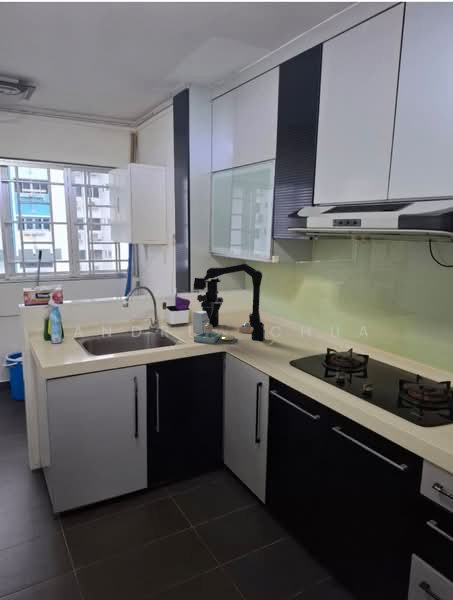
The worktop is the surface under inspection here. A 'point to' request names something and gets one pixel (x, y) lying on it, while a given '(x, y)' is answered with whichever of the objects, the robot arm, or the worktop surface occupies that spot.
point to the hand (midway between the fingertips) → (212, 316)
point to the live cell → (208, 330)
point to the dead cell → (247, 325)
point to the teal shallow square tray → (203, 339)
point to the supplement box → (199, 321)
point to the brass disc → (227, 337)
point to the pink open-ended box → (245, 329)
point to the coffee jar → (213, 318)
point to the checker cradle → (227, 341)
